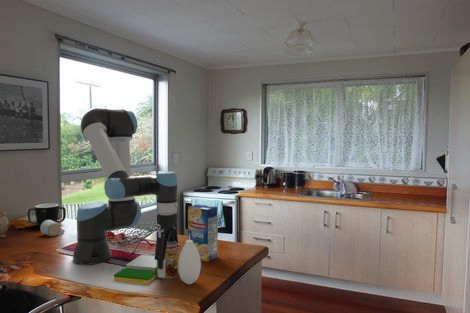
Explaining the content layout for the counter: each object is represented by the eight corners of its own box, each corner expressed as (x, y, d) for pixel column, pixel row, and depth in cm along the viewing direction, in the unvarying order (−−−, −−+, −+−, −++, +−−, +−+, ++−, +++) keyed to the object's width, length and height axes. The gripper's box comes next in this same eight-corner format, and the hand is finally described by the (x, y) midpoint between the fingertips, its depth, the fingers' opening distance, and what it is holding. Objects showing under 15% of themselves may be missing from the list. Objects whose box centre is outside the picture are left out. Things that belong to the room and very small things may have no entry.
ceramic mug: (48, 238, 180) (47, 223, 180) (39, 235, 185) (39, 220, 185) (67, 234, 189) (67, 219, 189) (59, 231, 194) (59, 217, 193)
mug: (54, 221, 217) (53, 201, 216) (68, 225, 207) (68, 204, 207) (25, 226, 203) (25, 205, 203) (39, 230, 194) (39, 209, 193)
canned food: (171, 280, 129) (170, 247, 128) (152, 276, 131) (152, 245, 131) (181, 272, 136) (181, 241, 135) (163, 269, 139) (163, 239, 138)
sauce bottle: (174, 285, 123) (174, 235, 123) (185, 277, 131) (185, 229, 130) (194, 289, 121) (194, 237, 120) (204, 280, 128) (204, 231, 127)
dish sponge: (148, 285, 125) (148, 278, 125) (113, 281, 128) (113, 275, 128) (157, 277, 132) (157, 271, 132) (123, 274, 135) (123, 268, 135)
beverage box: (207, 261, 148) (207, 209, 146) (187, 256, 154) (187, 206, 153) (217, 257, 153) (217, 207, 152) (198, 252, 159) (198, 204, 158)
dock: (126, 272, 135) (126, 265, 135) (141, 262, 147) (140, 254, 147) (155, 275, 133) (155, 267, 132) (168, 264, 144) (168, 257, 144)
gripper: (164, 220, 121) (164, 284, 122) (186, 207, 142) (186, 262, 143) (144, 219, 122) (144, 282, 124) (169, 207, 144) (169, 261, 145)
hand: (167, 271), depth 134 cm, fingers open, 9 cm apart
